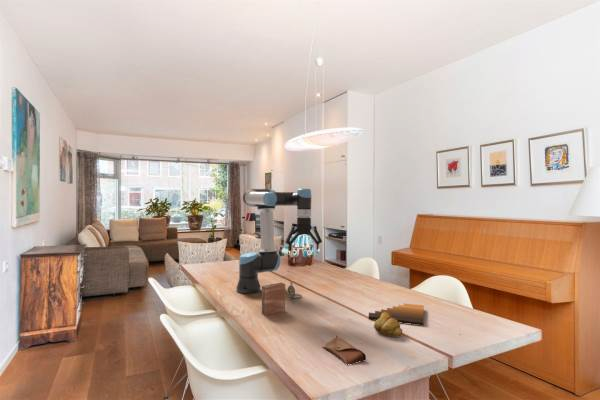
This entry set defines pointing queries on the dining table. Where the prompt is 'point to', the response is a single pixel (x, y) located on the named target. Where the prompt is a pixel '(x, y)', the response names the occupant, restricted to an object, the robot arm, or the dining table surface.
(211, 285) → the dining table surface
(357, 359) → the sunglasses case
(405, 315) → the pan flute
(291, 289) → the pocket watch
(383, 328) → the bread roll
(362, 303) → the dining table surface
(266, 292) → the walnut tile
